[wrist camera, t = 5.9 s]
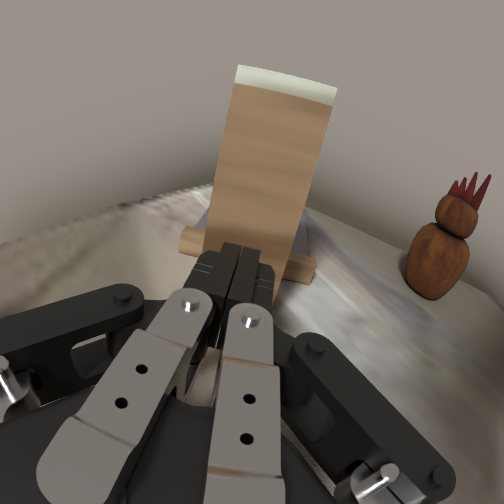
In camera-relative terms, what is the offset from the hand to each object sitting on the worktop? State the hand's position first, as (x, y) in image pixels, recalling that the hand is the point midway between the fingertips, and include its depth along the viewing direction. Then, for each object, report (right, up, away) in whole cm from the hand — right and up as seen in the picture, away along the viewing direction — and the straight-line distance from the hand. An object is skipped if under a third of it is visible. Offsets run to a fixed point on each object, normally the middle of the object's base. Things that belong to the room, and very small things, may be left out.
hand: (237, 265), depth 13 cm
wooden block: (-1, -3, +11) cm, 11 cm away
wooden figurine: (+20, -4, +19) cm, 28 cm away
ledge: (0, -1, +16) cm, 16 cm away
